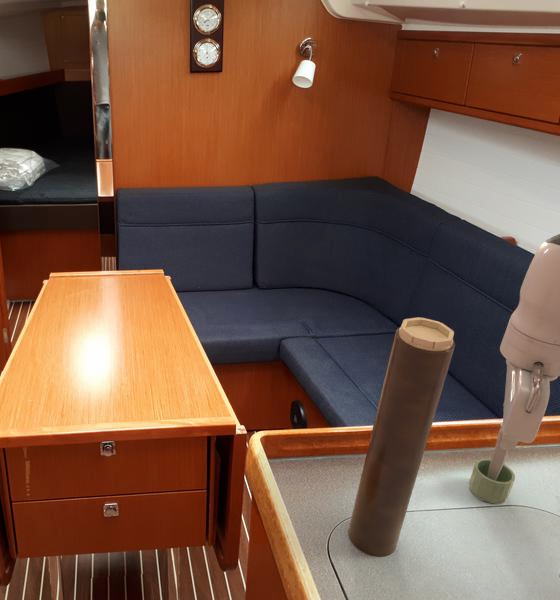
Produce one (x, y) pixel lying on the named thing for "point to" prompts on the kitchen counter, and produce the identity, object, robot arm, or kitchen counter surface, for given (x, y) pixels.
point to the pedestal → (397, 445)
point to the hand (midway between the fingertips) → (507, 428)
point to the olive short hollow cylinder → (491, 483)
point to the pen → (497, 458)
